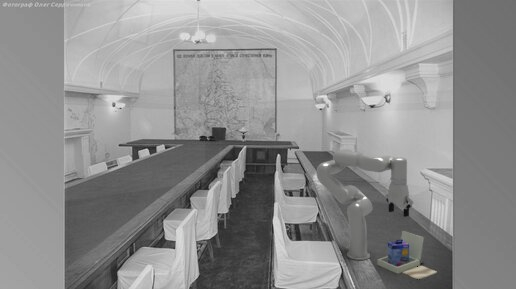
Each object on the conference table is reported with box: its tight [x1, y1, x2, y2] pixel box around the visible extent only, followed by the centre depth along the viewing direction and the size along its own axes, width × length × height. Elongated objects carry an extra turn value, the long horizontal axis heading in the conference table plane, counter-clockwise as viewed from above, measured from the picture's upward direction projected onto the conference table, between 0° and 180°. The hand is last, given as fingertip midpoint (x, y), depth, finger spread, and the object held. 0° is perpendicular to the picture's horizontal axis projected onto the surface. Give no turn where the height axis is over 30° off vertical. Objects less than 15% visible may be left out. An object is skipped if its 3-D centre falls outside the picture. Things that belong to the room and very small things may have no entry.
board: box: [402, 265, 437, 281], centre depth 177 cm, size 9×14×1 cm, turn 119°
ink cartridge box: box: [387, 239, 410, 267], centre depth 186 cm, size 10×6×14 cm, turn 98°
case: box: [377, 230, 425, 274], centre depth 187 cm, size 13×21×15 cm, turn 119°
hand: (398, 213), depth 184 cm, fingers open, 9 cm apart
